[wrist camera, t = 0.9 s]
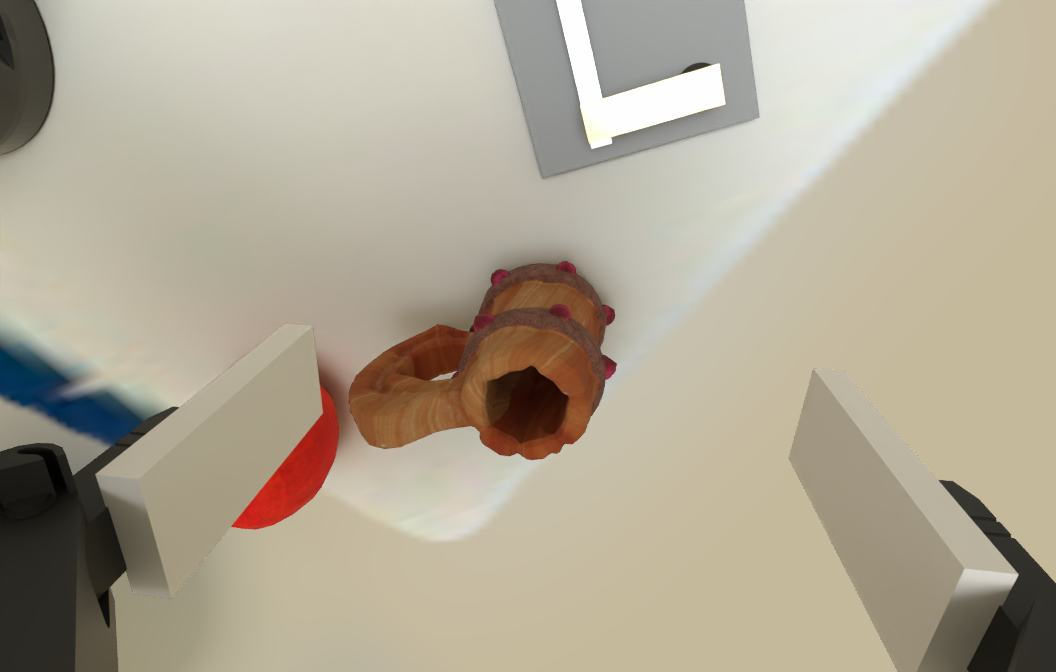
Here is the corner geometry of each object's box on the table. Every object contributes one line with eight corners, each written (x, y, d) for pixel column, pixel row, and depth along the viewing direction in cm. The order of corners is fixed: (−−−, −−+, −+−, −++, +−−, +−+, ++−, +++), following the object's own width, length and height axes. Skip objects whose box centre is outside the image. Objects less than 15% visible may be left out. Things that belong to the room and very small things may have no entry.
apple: (237, 428, 48) (129, 532, 37) (250, 325, 44) (133, 407, 33) (352, 467, 48) (279, 581, 37) (375, 367, 44) (301, 463, 33)
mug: (607, 241, 39) (612, 329, 25) (619, 352, 42) (629, 485, 28) (398, 268, 41) (298, 362, 27) (424, 371, 44) (345, 502, 30)
